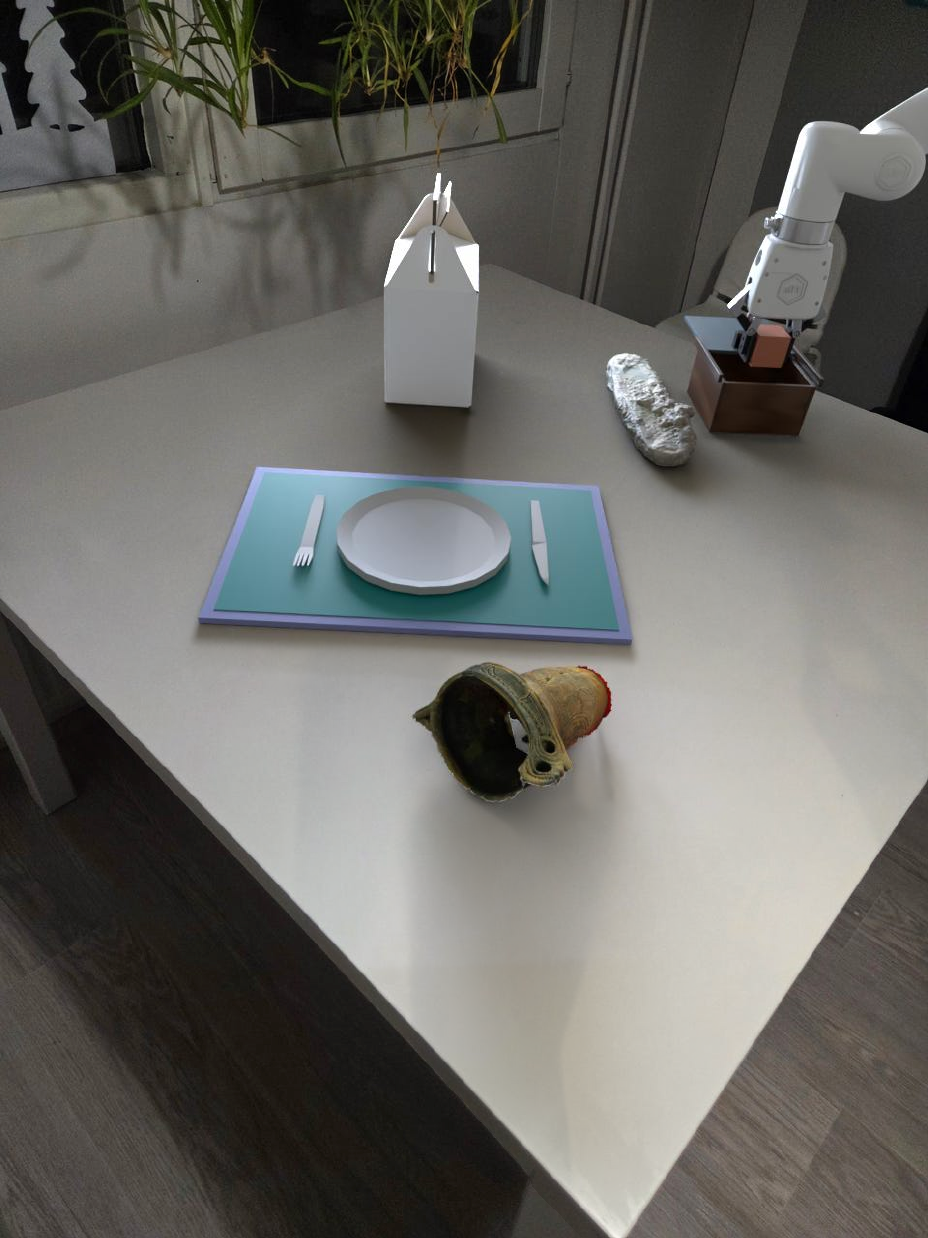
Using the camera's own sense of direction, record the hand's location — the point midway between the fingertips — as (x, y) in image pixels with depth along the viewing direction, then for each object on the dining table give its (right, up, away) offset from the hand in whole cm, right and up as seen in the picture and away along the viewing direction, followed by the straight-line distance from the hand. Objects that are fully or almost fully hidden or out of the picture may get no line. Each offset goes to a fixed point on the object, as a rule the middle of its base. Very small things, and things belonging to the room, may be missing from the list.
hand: (762, 358), depth 122 cm
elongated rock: (-17, -7, +5) cm, 19 cm away
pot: (-40, -52, -49) cm, 82 cm away
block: (0, 0, 0) cm, 0 cm away
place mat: (-49, -31, -25) cm, 63 cm away
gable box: (-50, +1, +11) cm, 51 cm away
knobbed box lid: (0, +7, +10) cm, 12 cm away
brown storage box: (-1, -6, +8) cm, 10 cm away
